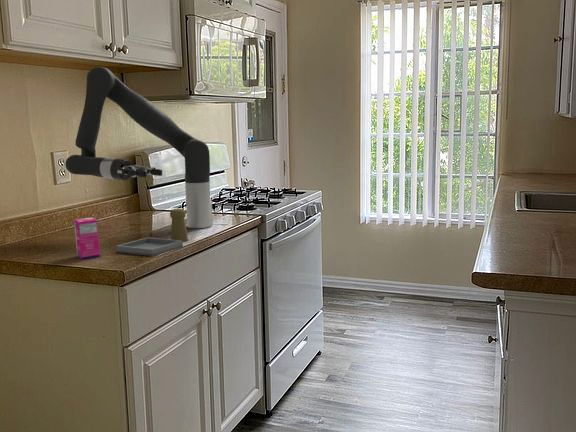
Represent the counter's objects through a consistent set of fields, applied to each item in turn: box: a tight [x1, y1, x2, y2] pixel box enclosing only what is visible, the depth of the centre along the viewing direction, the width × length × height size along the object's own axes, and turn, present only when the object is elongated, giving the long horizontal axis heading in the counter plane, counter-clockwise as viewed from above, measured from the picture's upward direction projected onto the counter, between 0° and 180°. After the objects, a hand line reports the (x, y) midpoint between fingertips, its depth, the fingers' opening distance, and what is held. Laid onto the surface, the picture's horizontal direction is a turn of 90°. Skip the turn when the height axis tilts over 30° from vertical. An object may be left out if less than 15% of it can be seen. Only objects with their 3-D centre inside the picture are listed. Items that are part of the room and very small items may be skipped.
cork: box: [169, 208, 189, 243], centre depth 201 cm, size 6×6×11 cm
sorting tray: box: [115, 237, 184, 257], centre depth 189 cm, size 15×15×2 cm
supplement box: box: [73, 217, 101, 260], centre depth 181 cm, size 6×6×12 cm
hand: (154, 173), depth 204 cm, fingers open, 8 cm apart
